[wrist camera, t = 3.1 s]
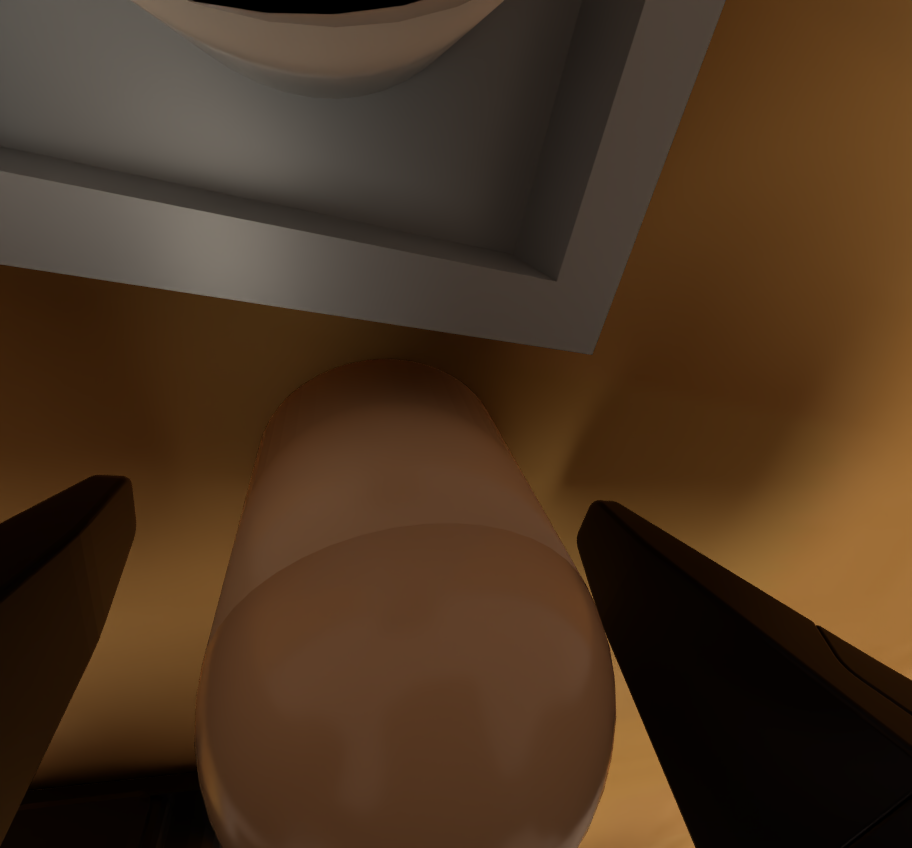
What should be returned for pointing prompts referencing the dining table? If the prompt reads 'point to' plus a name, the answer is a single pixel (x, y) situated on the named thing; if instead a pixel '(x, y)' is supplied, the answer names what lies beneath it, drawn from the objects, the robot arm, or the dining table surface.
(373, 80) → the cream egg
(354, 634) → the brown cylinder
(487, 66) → the grey flat rectangular tray
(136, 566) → the dining table surface
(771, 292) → the dining table surface
